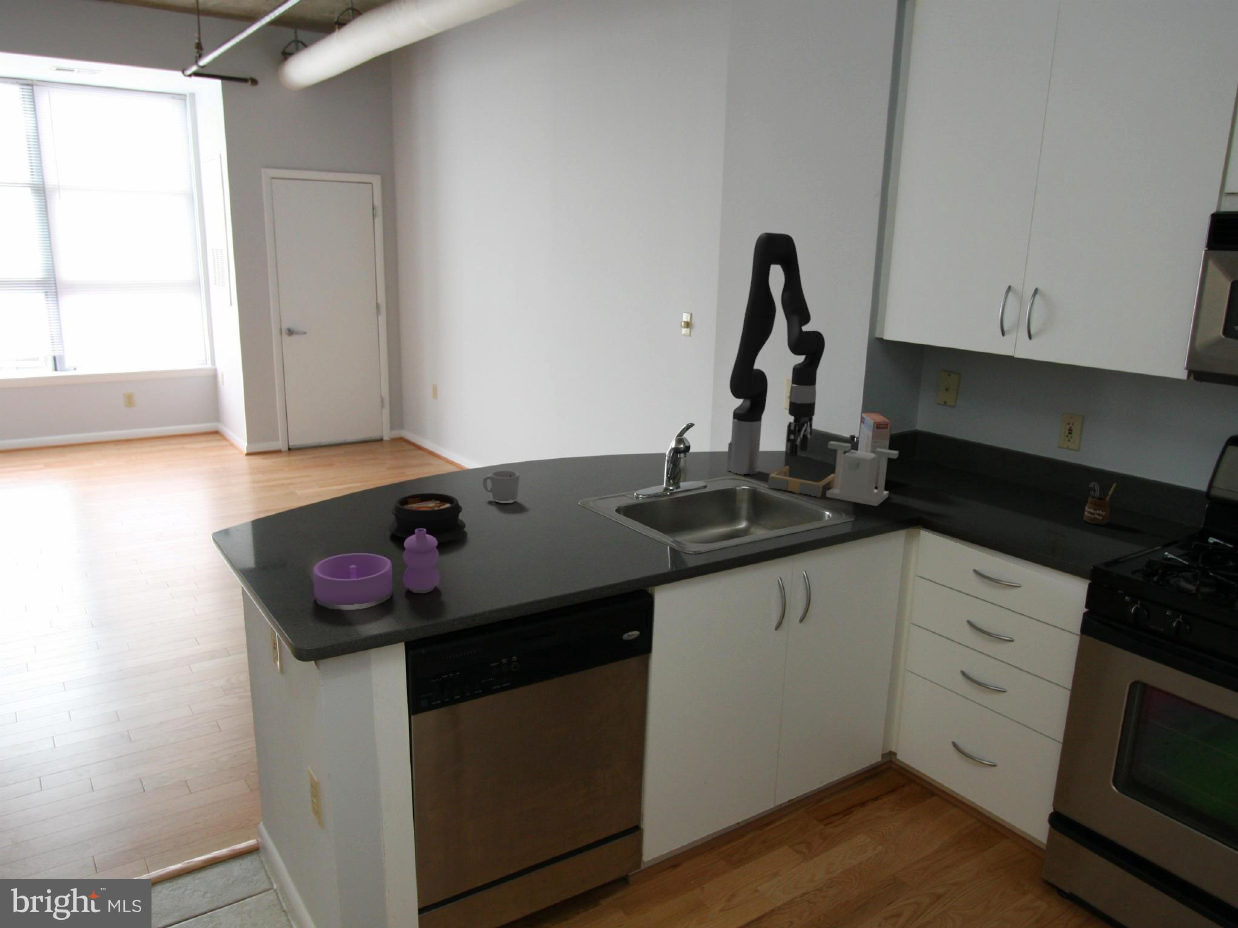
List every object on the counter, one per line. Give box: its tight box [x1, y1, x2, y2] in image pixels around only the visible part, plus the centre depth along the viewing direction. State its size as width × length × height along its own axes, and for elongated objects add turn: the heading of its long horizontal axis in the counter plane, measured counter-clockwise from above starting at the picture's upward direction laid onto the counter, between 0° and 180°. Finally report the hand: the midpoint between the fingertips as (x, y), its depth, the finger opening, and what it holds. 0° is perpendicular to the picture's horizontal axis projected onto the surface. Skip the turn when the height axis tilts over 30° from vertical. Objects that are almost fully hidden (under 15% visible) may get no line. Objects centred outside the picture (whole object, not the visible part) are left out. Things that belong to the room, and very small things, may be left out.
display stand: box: [825, 441, 900, 507], centre depth 261 cm, size 20×15×15 cm
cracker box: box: [857, 412, 892, 488], centre depth 279 cm, size 14×6×21 cm, turn 179°
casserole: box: [388, 492, 467, 544], centre depth 220 cm, size 25×19×8 cm
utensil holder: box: [1083, 482, 1117, 524], centre depth 246 cm, size 6×6×12 cm
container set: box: [312, 528, 441, 605], centre depth 183 cm, size 25×15×13 cm, turn 108°
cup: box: [482, 470, 521, 501], centre depth 248 cm, size 11×8×8 cm
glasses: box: [767, 465, 835, 498], centre depth 272 cm, size 16×14×4 cm
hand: (798, 453), depth 264 cm, fingers open, 8 cm apart
